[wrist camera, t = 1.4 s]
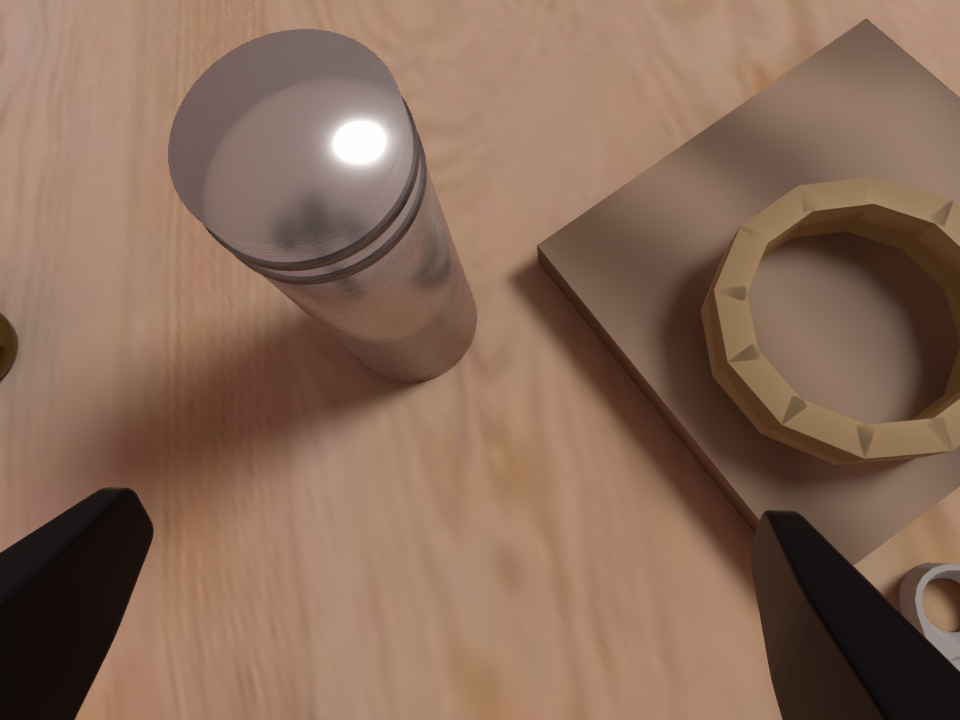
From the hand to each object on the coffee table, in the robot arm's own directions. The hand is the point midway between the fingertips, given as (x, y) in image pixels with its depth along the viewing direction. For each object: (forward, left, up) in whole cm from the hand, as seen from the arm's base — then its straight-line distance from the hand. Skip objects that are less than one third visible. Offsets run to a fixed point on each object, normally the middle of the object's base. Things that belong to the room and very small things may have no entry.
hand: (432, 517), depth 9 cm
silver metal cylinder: (+1, +9, -14) cm, 17 cm away
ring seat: (+15, 0, -14) cm, 21 cm away
